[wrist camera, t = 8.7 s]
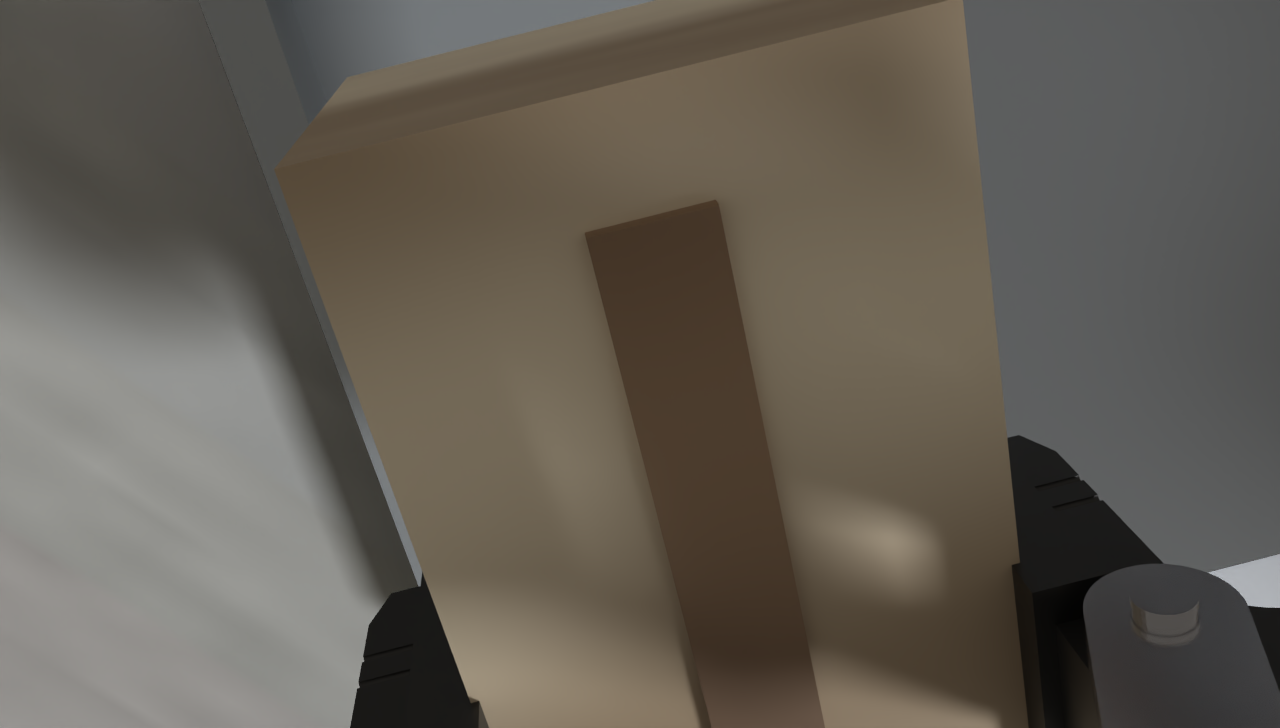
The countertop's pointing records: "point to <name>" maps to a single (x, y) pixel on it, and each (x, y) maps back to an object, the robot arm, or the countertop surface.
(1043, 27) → the rubber mat
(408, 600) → the robot arm
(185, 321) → the countertop surface
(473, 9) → the slate tray
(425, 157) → the wooden block
